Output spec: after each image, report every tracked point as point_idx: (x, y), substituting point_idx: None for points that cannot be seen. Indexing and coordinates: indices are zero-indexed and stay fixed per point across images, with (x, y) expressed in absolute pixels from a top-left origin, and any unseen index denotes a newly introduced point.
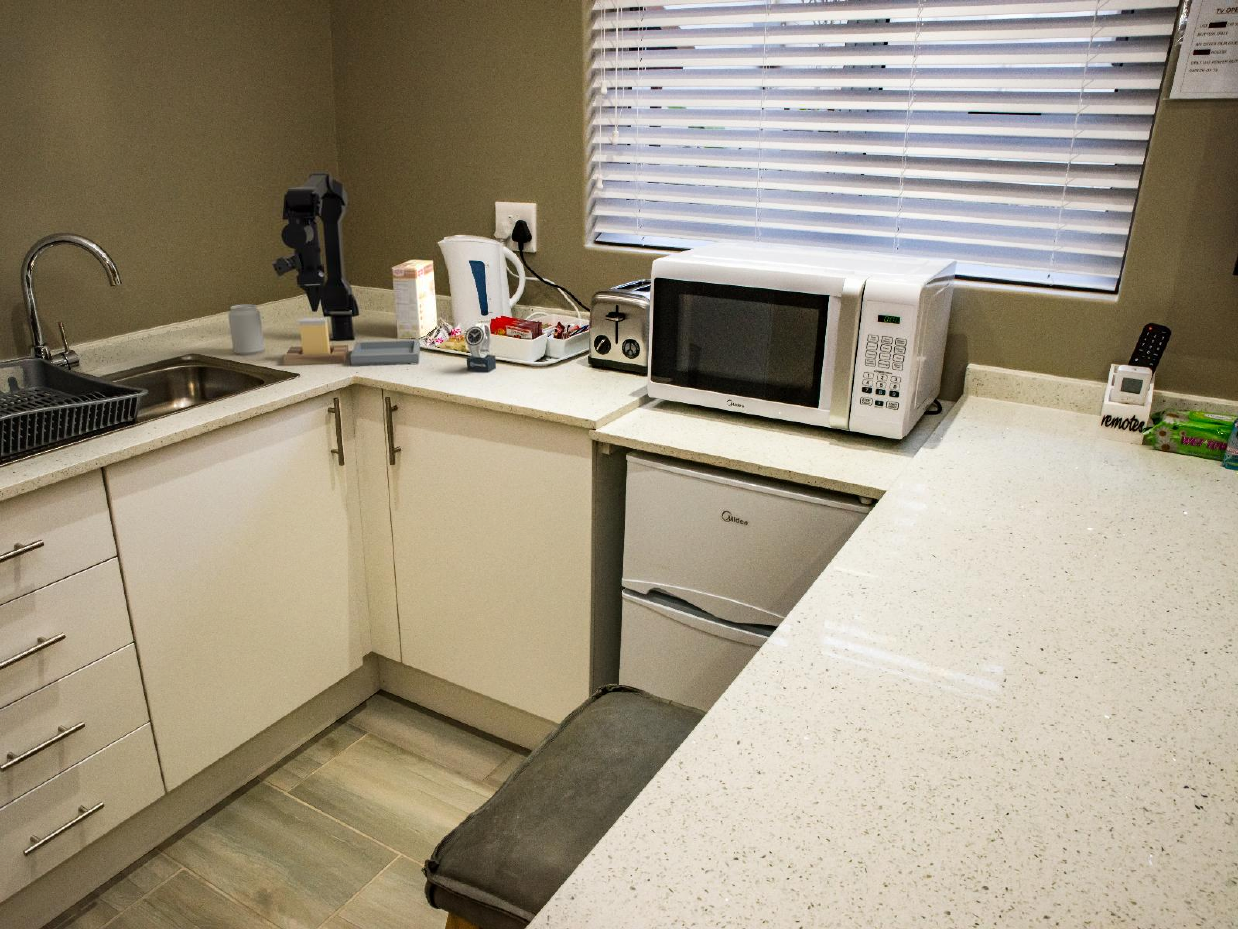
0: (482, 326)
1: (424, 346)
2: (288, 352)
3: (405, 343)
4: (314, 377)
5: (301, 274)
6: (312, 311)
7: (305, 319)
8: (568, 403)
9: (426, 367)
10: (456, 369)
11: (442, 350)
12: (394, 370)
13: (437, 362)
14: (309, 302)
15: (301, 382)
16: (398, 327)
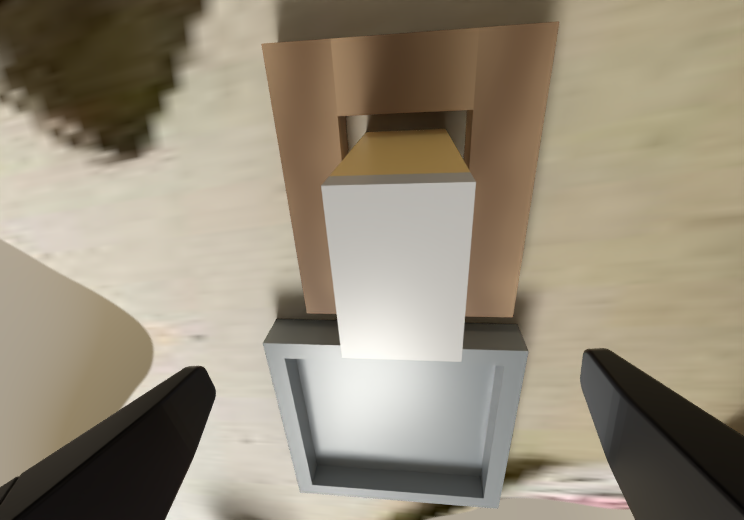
0: None
1: (530, 486)
2: (391, 44)
3: (485, 472)
4: (110, 219)
5: None
6: (185, 367)
7: (403, 224)
8: None
9: (271, 473)
10: (255, 512)
11: (461, 512)
12: (234, 417)
13: None
14: (78, 438)
15: (33, 183)
16: None
